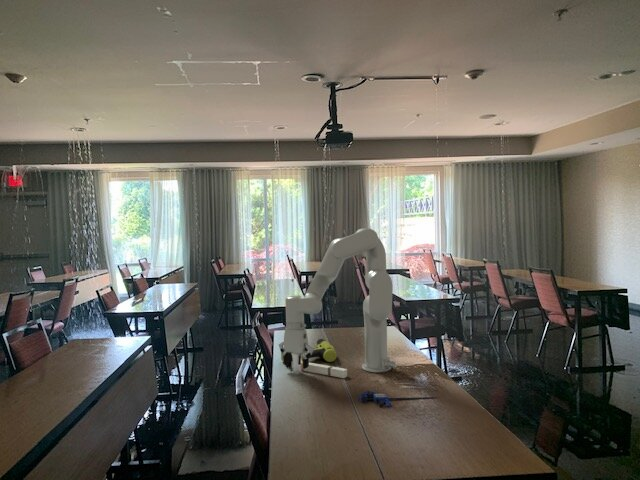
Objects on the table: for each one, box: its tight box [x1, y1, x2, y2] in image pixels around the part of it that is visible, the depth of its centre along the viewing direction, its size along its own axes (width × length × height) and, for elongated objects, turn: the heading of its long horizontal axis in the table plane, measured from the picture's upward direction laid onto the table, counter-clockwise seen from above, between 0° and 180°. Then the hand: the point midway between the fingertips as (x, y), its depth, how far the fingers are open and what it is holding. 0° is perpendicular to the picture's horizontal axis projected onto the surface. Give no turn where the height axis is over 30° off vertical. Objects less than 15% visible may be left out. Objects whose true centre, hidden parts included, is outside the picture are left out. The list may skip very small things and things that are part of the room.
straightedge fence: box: [291, 361, 348, 379], centre depth 185 cm, size 26×3×3 cm, turn 58°
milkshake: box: [292, 353, 302, 375], centre depth 185 cm, size 4×5×10 cm
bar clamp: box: [359, 390, 438, 408], centre depth 153 cm, size 32×2×10 cm
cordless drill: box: [280, 338, 338, 368], centre depth 206 cm, size 7×25×25 cm
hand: (296, 366), depth 185 cm, fingers open, 9 cm apart
